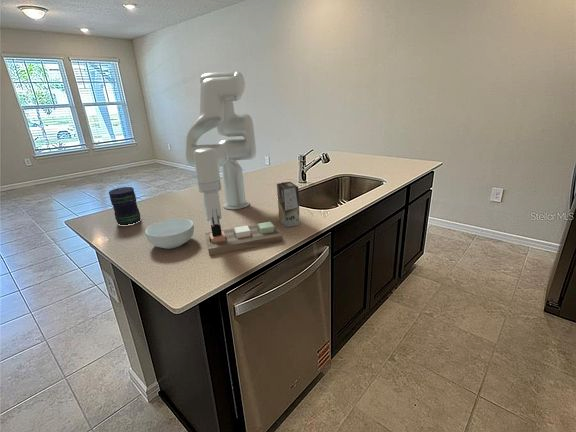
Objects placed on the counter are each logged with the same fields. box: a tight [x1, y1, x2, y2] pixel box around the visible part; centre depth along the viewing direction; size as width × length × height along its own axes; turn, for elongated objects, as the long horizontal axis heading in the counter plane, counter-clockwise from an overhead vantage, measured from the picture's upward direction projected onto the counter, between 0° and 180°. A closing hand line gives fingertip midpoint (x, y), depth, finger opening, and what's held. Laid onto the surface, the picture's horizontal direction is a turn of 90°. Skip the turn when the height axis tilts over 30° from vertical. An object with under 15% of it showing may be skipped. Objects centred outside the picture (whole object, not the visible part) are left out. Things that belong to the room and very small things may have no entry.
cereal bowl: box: [144, 218, 195, 250], centre depth 115 cm, size 17×17×7 cm
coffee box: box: [276, 181, 301, 228], centre depth 126 cm, size 9×6×16 cm
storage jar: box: [108, 186, 142, 225], centre depth 136 cm, size 10×10×15 cm
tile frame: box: [204, 221, 283, 256], centre depth 115 cm, size 14×26×2 cm, turn 108°
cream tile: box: [233, 225, 251, 239], centre depth 114 cm, size 5×5×3 cm
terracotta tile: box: [210, 231, 226, 243], centre depth 112 cm, size 5×5×3 cm
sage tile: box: [257, 221, 274, 234], centre depth 117 cm, size 5×5×3 cm
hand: (217, 235), depth 111 cm, fingers closed
